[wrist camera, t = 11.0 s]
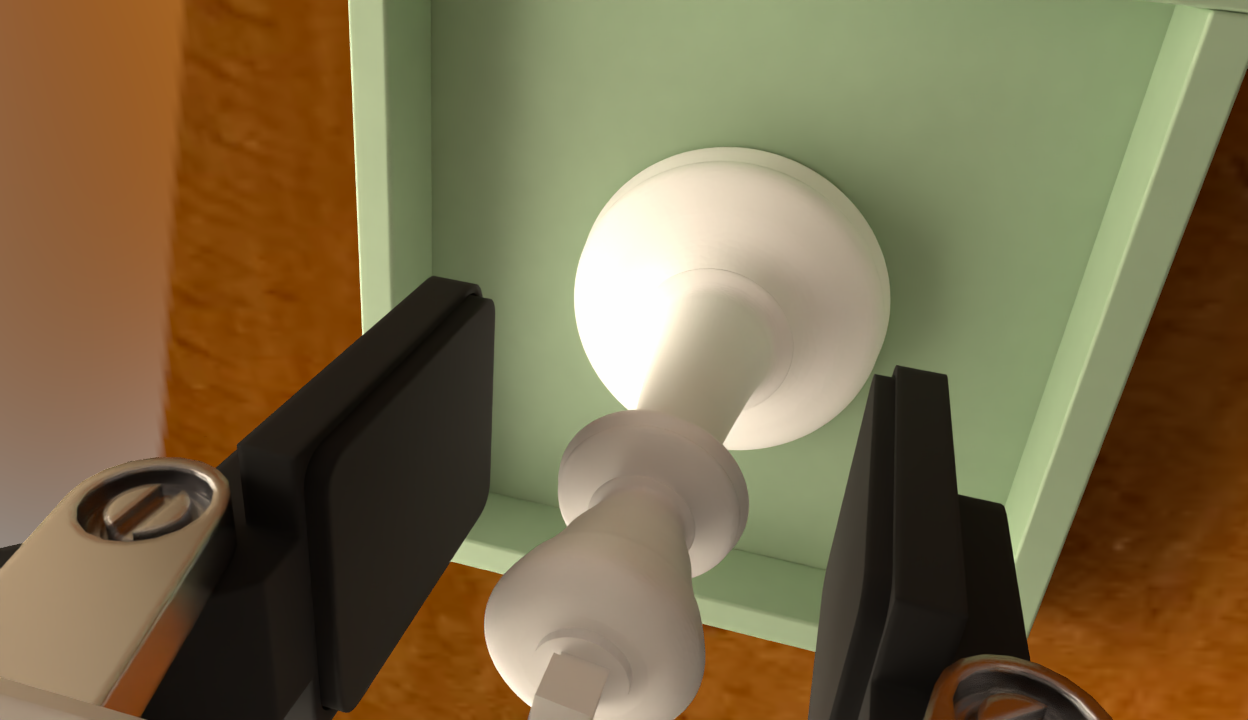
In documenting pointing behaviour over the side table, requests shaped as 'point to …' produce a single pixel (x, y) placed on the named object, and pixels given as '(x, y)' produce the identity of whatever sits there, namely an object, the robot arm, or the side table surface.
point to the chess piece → (684, 416)
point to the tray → (854, 163)
